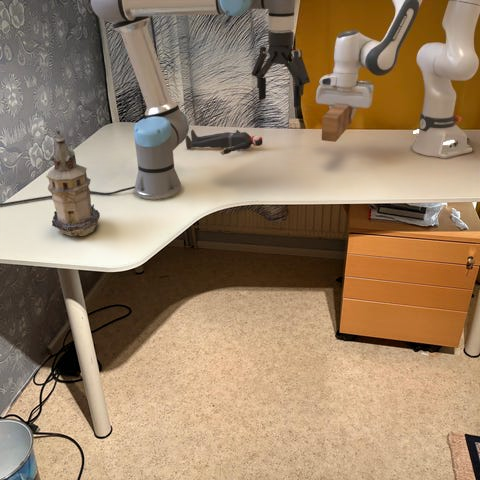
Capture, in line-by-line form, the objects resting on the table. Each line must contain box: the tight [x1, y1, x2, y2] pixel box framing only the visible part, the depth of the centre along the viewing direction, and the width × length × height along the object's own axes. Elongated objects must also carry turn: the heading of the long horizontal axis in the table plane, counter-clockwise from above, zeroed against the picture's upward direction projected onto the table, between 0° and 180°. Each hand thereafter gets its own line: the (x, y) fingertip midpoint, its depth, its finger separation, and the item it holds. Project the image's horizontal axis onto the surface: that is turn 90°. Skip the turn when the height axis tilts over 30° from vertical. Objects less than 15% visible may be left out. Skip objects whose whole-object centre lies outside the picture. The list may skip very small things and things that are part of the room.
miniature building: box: [46, 129, 101, 237], centre depth 148 cm, size 13×14×30 cm
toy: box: [185, 129, 264, 156], centre depth 213 cm, size 26×6×30 cm
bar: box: [321, 104, 354, 143], centre depth 192 cm, size 22×5×8 cm, turn 156°
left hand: (279, 102), depth 169 cm, fingers open, 13 cm apart
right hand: (342, 117), depth 198 cm, fingers closed on bar, 5 cm apart
